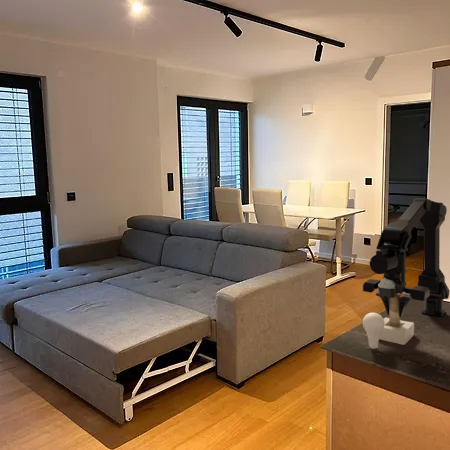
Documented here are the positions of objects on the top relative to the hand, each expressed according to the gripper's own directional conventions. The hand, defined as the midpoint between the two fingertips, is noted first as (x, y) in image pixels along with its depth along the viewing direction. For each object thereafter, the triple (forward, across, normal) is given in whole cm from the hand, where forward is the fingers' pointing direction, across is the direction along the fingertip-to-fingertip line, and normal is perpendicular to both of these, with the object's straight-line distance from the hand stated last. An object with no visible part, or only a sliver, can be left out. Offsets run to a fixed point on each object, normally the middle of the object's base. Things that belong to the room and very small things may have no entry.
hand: (394, 316), depth 141 cm
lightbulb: (+7, -2, -12) cm, 14 cm away
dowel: (+3, 0, 0) cm, 3 cm away
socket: (+7, 0, 0) cm, 7 cm away
